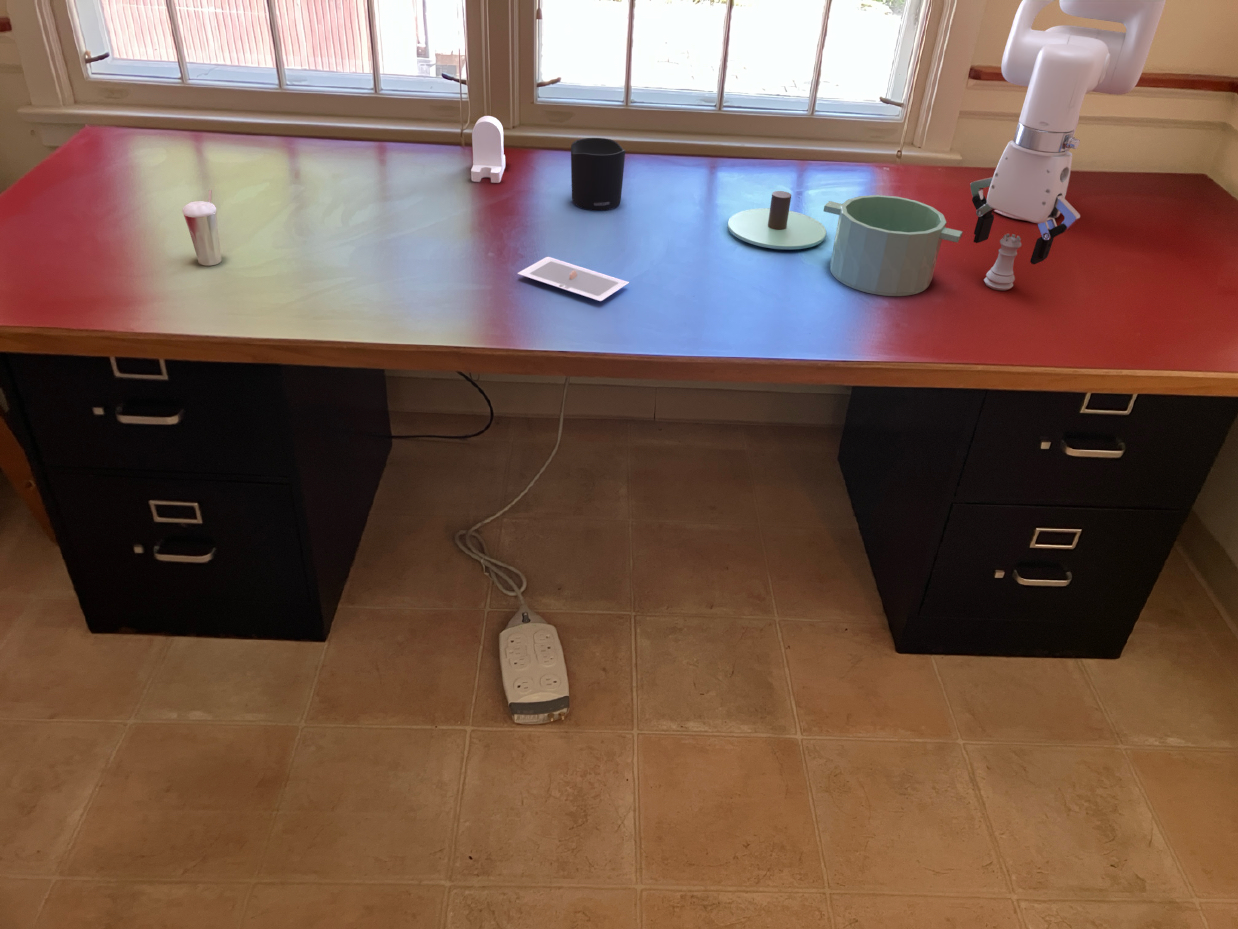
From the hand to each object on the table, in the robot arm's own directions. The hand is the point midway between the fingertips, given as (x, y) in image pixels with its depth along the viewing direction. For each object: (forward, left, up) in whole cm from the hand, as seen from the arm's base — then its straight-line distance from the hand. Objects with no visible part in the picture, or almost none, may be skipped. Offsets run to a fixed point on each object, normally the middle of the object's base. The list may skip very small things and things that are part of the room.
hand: (1008, 251), depth 148 cm
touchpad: (+37, -55, -6) cm, 67 cm away
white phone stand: (+5, -93, -6) cm, 93 cm away
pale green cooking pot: (+6, -17, -6) cm, 19 cm away
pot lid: (0, -37, -5) cm, 37 cm away
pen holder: (+6, -69, -6) cm, 70 cm away
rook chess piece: (-1, 0, -6) cm, 6 cm away
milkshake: (+61, -104, -6) cm, 121 cm away
